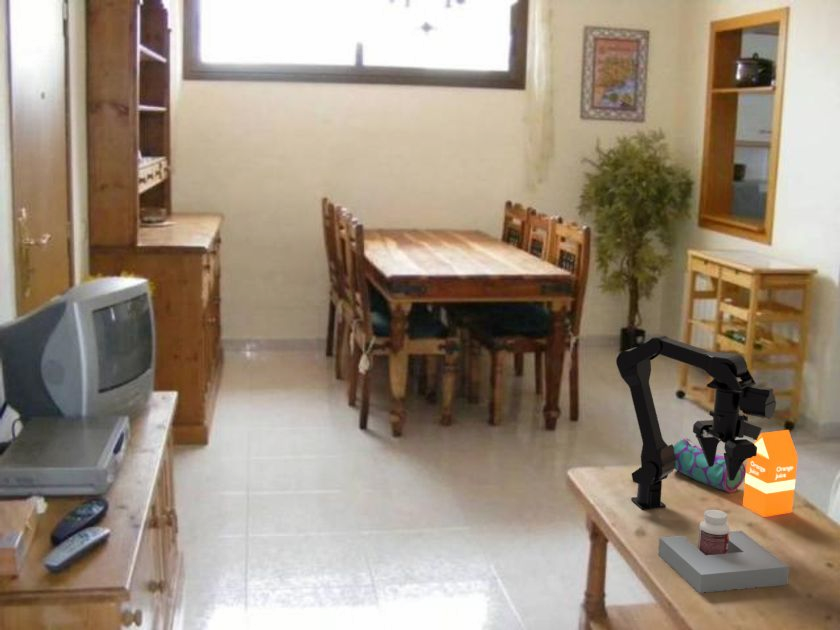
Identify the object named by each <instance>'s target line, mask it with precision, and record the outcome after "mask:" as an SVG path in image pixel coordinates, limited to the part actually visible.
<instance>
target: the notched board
mask: <svg viewBox="0 0 840 630" xmlns="http://www.w3.org/2000/svg"><path fill="white" fill-rule="evenodd" d="M658 541H659V542H658V552H657V555H658V556H659V557H660V558H661V559H662V560H664V562H666V563H667V565H669V566H670V567H671V568H672V569H673V570H674V571H675V572H677V574H678V575H680V576H681V578H682V579H684V580H685V581H686V582H687V583H688V584H689V585H690V586H691V585H692V586H693V587H694V588H693V587H692V586H691V587H692V588H693V589H695V591H697V592H698V593H699V594H705V593H704V592H706V593H714V592H715V591H716V592H723V591H724V590H726V591H731V590H730V589H737V590H744V589H745V588H747V589H756V588H755V587H757V588H767V587H774V586H775V587H777V586H784V585H788V581H789V580H788V579H789V571H790V566H789V565H788V564H786V563H785V562H783V560H781V559H779V557H777V556H776V555H774V554H773V553H772V552H771V551H769V550H768V549H766V548H765V547H764V546H763V545H761V544H760V543H759V542H757V541H755V539H753V538H752V537H751V536H749V535H748V534H746V532H744V531H742V530H736V531H735V530H734V531H729V542H728V552H727V554H716V555H705V554H703V553H702V552H701V551H700V550H699V549H698V547H696V546H695V545H694V544H693V543H691V541H689V540H688V539H687V538H686V537H685V536H684V535H675V536H674V535H673V536H664V537H663V536H662V537H659V540H658ZM724 592H725V591H724Z"/></svg>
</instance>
